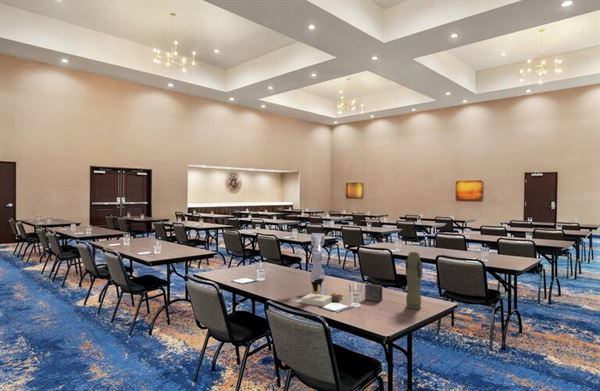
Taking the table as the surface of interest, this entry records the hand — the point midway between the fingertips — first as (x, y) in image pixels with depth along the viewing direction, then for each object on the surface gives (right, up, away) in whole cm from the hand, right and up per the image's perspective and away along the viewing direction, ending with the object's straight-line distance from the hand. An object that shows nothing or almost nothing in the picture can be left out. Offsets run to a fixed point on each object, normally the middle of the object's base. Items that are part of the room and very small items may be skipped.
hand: (317, 290), depth 241 cm
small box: (+39, -8, +5) cm, 40 cm away
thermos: (+62, -8, -10) cm, 63 cm away
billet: (0, -2, 0) cm, 2 cm away
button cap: (+13, -6, +6) cm, 15 cm away
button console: (+13, -8, +6) cm, 16 cm away
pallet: (0, -8, 0) cm, 8 cm away
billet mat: (-13, -8, +5) cm, 16 cm away
